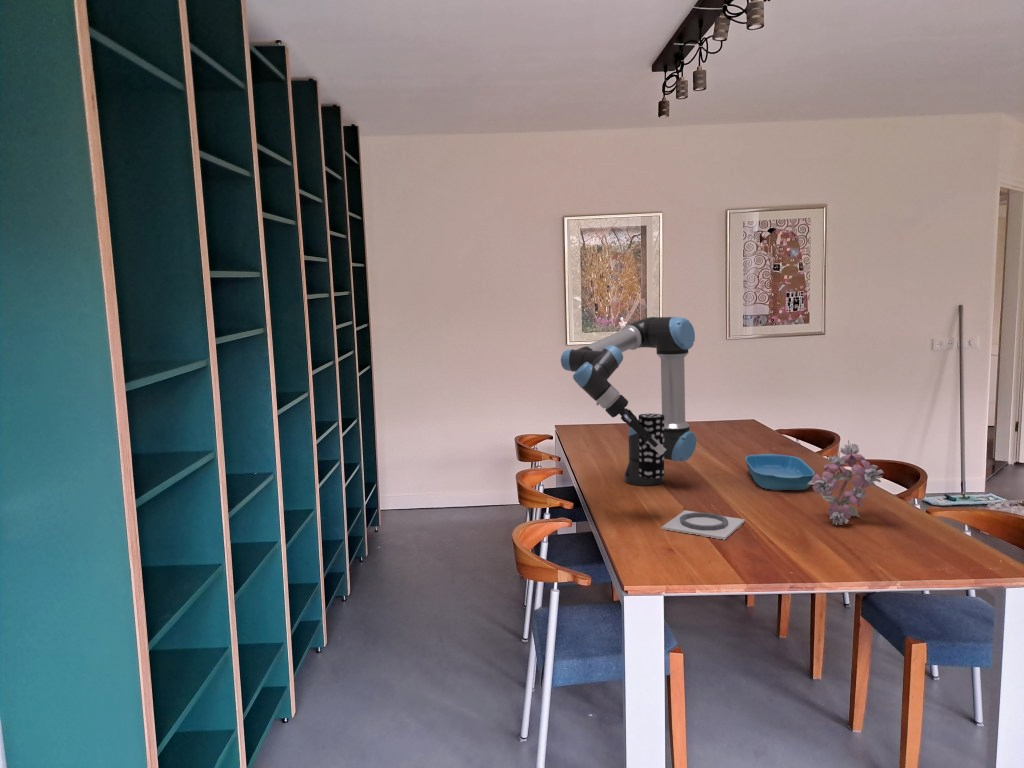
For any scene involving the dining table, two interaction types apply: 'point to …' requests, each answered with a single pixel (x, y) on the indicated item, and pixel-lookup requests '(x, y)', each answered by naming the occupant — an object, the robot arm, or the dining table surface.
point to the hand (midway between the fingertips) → (661, 449)
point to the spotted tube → (648, 457)
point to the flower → (845, 483)
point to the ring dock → (704, 524)
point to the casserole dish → (779, 471)
